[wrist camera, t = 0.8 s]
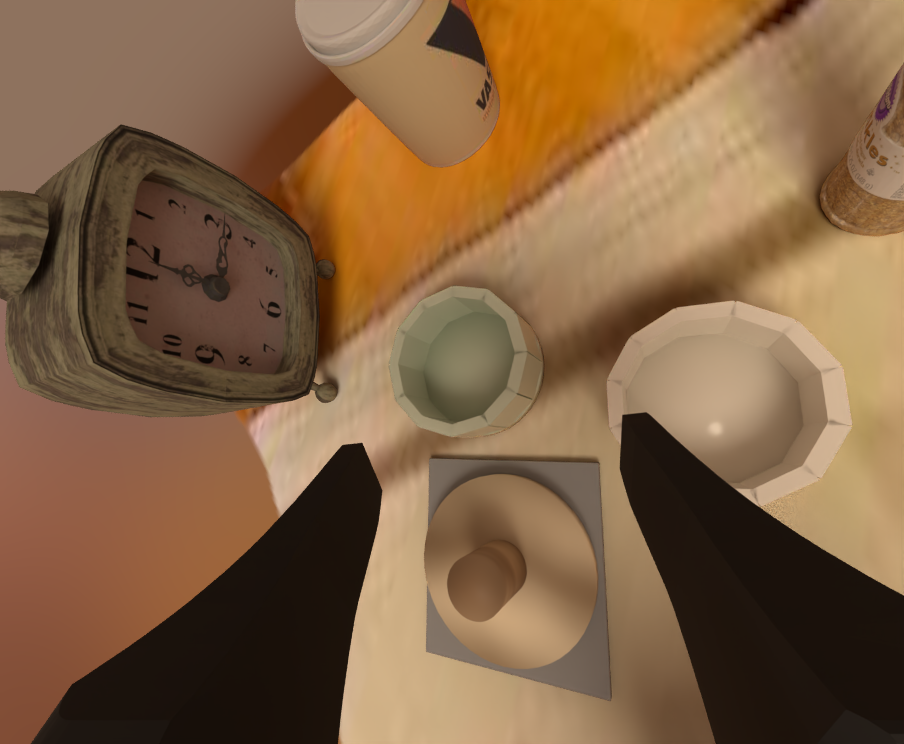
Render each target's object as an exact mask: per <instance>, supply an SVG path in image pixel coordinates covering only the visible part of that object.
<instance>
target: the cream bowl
mask: <svg viewBox="0 0 904 744" xmlns="http://www.w3.org/2000/svg"><path fill="white" fill-rule="evenodd" d="M795 322H796V319H793V318H790V317H787V316H784V315H780V314H777V313H774V312H771V311H768V310H765V309H762V308H758V307H755V306H752V305H749V304H746V303H743V302H740V301H736V303H735V300H734V301H726V302H718V303H709V304H701V305H693V306H685V307H677V308H676V309H675V308H674V309H672V310H671V311H669V312H668V313H666V314H665V315H663V316H662V317H660V318H658V319H657V320H655V321H654V322H652V323H651V324H649V325H647V326H646V327H644V328H643V329H641V330H640V331H638V332H636V333H635V334H633V335H632V336H630V337H631V338H629V339H628V341H627V343H626V344H625V346H624V348H623V350H622V352H621V354H620V356H619V357H618V359H617V361H616V363H615V365H614V367H613V368H612V370H611V372H610V374H609V376H608V378H607V380H608V381H606V383H607V400H608V418H609V428H611V429H610V430H611V432H612V433H613V435H614V436H615V438H616V439H617V441H618V442H619V444H620V445H621V429H622V415H624V414H634V413H643V412H647V413H648V414H650V415H651V416H652V417H653V418H654V419H655V420H656V421H657V422H658V423H659V424H660V425H662V426H663V427H664V428H665V429H666V430H667V431H668V432H669V433H670V434H671V435H672V436H673V437H674V438H676V439H677V440H678V441H679V442H680V443H681V444H682V445H683V446H684V447H685V448H687V449H688V450H689V451H690V452H691V453H692V454H693V455H695V456H696V457H697V458H698V459H699V460H700V461H702V462H703V463H704V464H705V465H706V466H707V467H709V468H710V469H711V470H712V471H713V472H715V473H716V474H717V475H718V476H719V477H721V478H722V479H723V480H724V481H726V482H727V483H728V484H729V485H731V486H732V487H733V488H735V489H736V490H737V491H738V492H740V493H741V494H742V495H744V496H745V497H746V498H748V499H749V500H750V501H752V502H753V503H754V504H756V505H757V506H758V507H759V506H761V507H762V506H764V505H766V504H768V503H770V502H773V501H775V500H777V499H779V498H781V497H784V496H786V495H788V494H790V493H792V492H795V491H797V490H799V489H801V488H803V487H806V486H808V485H810V484H812V483H814V482H817V481H819V479H818V478H822V477H823V475H824V473H825V472H826V470H827V468H828V467H829V465H830V463H831V462H832V460H833V458H834V457H835V455H836V453H837V451H838V450H839V448H840V446H841V445H842V443H843V441H844V440H845V438H846V436H847V435H848V433H849V431H850V430H851V428H852V427H850V426H849V425H852V420H851V414H850V407H849V401H848V395H847V389H846V382H845V376H844V370H843V367H840V366H842V365H841V364H840V363H839V362H838V361H837V360H836V359H835V358H834V356H833V355H832V354H831V353H830V352H829V351H828V350H827V349H826V348H825V347H824V346H823V345H822V344H821V343H820V342H819V341H818V340H817V339H816V338H815V337H814V336H813V335H812V334H811V333H810V332H809V331H808V330H807V329H806V328H805V327H804V326H803V325H802V324H801V323H800V322H799V321H797V322H796V323H795Z"/></svg>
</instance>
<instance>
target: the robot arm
mask: <svg viewBox="0 0 904 744" xmlns="http://www.w3.org/2000/svg"><path fill="white" fill-rule="evenodd" d="M620 472H621V475H622V479H623V482H624V486H625V489H626V492H627V496H628V499H629V502H630V505H631V508H632V510H633V512H634V515H635V517H636V520H637V522H638V524H639V527H640V529H641V531H642V534H643V536H644V538H645V541H646V543H647V545H648V547H649V550H650V552H651V554H652V557H653V559H654V561H655V564H656V566H657V568H658V571H659V573H660V575H661V577H662V580H663V582H664V584H665V587H666V589H667V592H668V594H669V597H670V600H671V602H672V605H673V608H674V611H675V614H676V617H677V620H678V623H679V626H680V629H681V632H682V635H683V638H684V641H685V644H686V647H687V650H688V653H689V657H690V660H691V663H692V666H693V669H694V673H695V676H696V679H697V682H698V685H699V689H700V692H701V695H702V698H703V702H704V705H705V709H706V712H707V715H708V719H709V722H710V725H711V729H712V732H713V736H714V739H715V742H716V744H904V596H903V595H902V594H900V593H898V592H896V591H894V590H892V589H890V588H889V587H887V586H885V585H883V584H881V583H880V582H878V581H876V580H874V579H872V578H871V577H869V576H867V575H865V574H864V573H862V572H860V571H859V570H857V569H855V568H854V567H852V566H850V565H848V564H847V563H845V562H843V561H842V560H840V559H838V558H837V557H835V556H833V555H832V554H830V553H828V552H826V551H825V550H823V549H821V548H820V547H818V546H817V545H815V544H813V543H812V542H810V541H809V540H807V539H805V538H804V537H802V536H801V535H799V534H798V533H796V532H795V531H793V530H792V529H790V528H789V527H787V526H786V525H784V524H783V523H781V522H780V521H778V520H777V519H775V518H774V517H772V516H771V515H770V514H768V513H767V512H765V511H764V510H763V509H761V508H760V507H758V506H757V505H756V504H754V503H753V502H752V501H750V500H749V499H748V498H746V497H745V496H744V495H742V494H741V493H740V492H738V491H737V490H736V489H735V488H733V487H732V486H731V485H729V484H728V483H727V482H726V481H724V480H723V479H722V478H721V477H719V476H718V475H717V474H716V473H715V472H713V471H712V470H711V469H710V468H709V467H707V466H706V465H705V464H704V463H703V462H702V461H700V460H699V459H698V458H697V457H696V456H695V455H693V454H692V453H691V452H690V451H689V450H688V449H687V448H685V447H684V446H683V445H682V444H681V443H680V442H679V441H678V440H677V439H676V438H674V437H673V436H672V435H671V434H670V433H669V432H668V431H667V430H666V429H665V428H664V427H663V426H662V425H660V424H659V423H658V422H657V421H656V420H655V419H654V418H653V417H652V416H651V415H650V414H648V413H647V412H643V413H634V414H624V415H622V429H621V453H620ZM381 498H382V489H381V486H380V484H379V481H378V479H377V477H376V474H375V472H374V470H373V467H372V465H371V462H370V460H369V458H368V455H367V453H366V451H365V448H364V446H363V444H362V443H357V444H348V445H342V446H341V447H340V448H339V450H338V451H337V452H336V453H335V454H334V455H333V457H332V458H331V459H330V460H329V461H328V463H327V464H326V465H325V466H324V467H323V469H322V470H321V471H320V472H319V473H318V475H317V476H316V477H315V478H314V479H313V481H312V482H311V483H310V484H309V485H308V486H307V488H306V489H305V490H304V491H303V492H302V493H301V495H300V496H299V497H298V498H297V499H296V500H295V502H294V503H293V504H292V505H291V506H290V507H289V508H288V509H287V510H286V511H285V512H284V514H283V515H282V516H281V517H280V518H279V519H278V520H277V521H276V522H275V523H274V524H273V525H272V527H271V528H270V529H269V530H268V531H267V532H266V533H265V534H264V535H263V536H262V537H261V538H260V539H259V540H258V541H257V542H256V543H255V544H254V545H253V546H252V547H251V548H250V549H249V550H248V551H247V552H246V553H245V554H244V555H243V556H241V557H240V558H239V559H238V560H237V561H236V562H235V563H234V564H233V565H232V566H231V567H230V568H228V569H227V570H226V571H225V572H224V573H223V574H222V575H220V576H219V577H218V578H217V579H216V580H214V581H213V582H212V583H211V584H210V585H208V586H207V587H206V588H205V589H204V590H203V591H201V592H200V593H199V594H198V595H196V596H195V597H194V598H193V599H192V600H191V601H189V602H188V603H187V604H186V605H184V606H183V607H182V608H180V609H179V610H178V611H177V612H175V613H174V614H173V615H171V616H170V617H169V618H167V619H166V620H165V621H163V622H162V623H161V624H159V625H158V626H157V627H155V628H154V629H153V630H151V631H150V632H149V633H147V634H146V635H144V636H143V637H142V638H140V639H139V640H137V641H136V642H135V643H133V644H132V645H131V646H129V647H128V648H126V649H125V650H123V651H122V652H120V653H119V654H117V655H116V656H114V657H113V658H111V659H110V660H108V661H107V662H105V663H104V664H102V665H101V666H99V667H98V668H97V669H95V670H93V671H92V672H90V673H89V674H87V675H86V676H84V677H83V678H82V679H80V680H78V681H77V682H75V683H74V684H72V685H71V687H70V688H69V689H68V691H67V692H66V694H65V695H64V697H63V698H62V700H61V701H60V703H59V704H58V705H57V707H56V708H55V710H54V711H53V713H52V714H51V715H50V717H49V718H48V720H47V721H46V723H45V724H44V726H43V727H42V728H41V730H40V731H39V733H38V734H37V736H36V737H35V738H34V740H33V741H32V743H31V744H338V737H339V728H340V719H341V710H342V701H343V694H344V686H345V679H346V672H347V665H348V657H349V651H350V645H351V638H352V632H353V626H354V620H355V615H356V610H357V606H358V601H359V597H360V593H361V590H362V586H363V582H364V578H365V574H366V570H367V566H368V563H369V559H370V555H371V551H372V547H373V543H374V539H375V535H376V531H377V527H378V522H379V514H380V507H381Z"/></svg>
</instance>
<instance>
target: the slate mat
mask: <svg viewBox="0 0 904 744" xmlns="http://www.w3.org/2000/svg"><path fill="white" fill-rule="evenodd" d="M493 474H513V475H519V476H523V477H527V478H529V479H532V480H534V481H537V482H539V483H541V484H542V485H544V486H546V487H548V488H549V489H551V490H552V491H553V492H555V493H556V494H557V495H559V496H560V497H561V498H562V499H563V500H564V501H565V502H566V503H567V504H568V505H569V506H570V507H571V509H572V510H573V511H574V512H575V513H576V515H577V516H578V518H579V519H580V521H581V522H582V524H583V526H584V528H585V530H586V532H587V533H588V535H589V538H590V540H591V543H592V546H593V549H594V552H595V557H596V561H597V568H598V594H597V600H596V605H595V608H594V611H593V614H592V617H591V619H590V622H589V624H588V626H587V628H586V630H585V633H584V634H583V635H582V637H581V638H580V640H579V641H578V643H577V644H576V645H575V646H574V647H573V648H572V649H571V650H570V651H569V652H568V653H567V654H565V655H564V656H563V657H561V658H560V659H558V660H556V661H554V662H552V663H550V664H548V665H545V666H541V667H538V668H531V669H514V668H508V667H503V666H500V665H497V664H494V663H491V662H489V661H487V660H485V659H483V658H481V657H480V656H478V655H477V654H475V653H474V652H472V651H470V650H469V649H468V648H467V647H466V646H465V645H463V644H462V643H461V642H460V641H459V640H458V639H457V638H456V637H455V636H454V635H453V633H452V632H451V631H450V630H449V628H448V627H447V626H446V624H445V623H444V621H443V619H442V618H441V616H440V615H439V613H438V611H437V609H436V607H435V604H434V602H433V600H432V597H431V594H430V591H429V588H428V584H427V631H426V652H429V653H433V654H437V655H441V656H444V657H448V658H452V659H455V660H459V661H463V662H467V663H470V664H474V665H478V666H482V667H485V668H489V669H493V670H496V671H500V672H504V673H508V674H511V675H515V676H519V677H523V678H526V679H530V680H534V681H538V682H541V683H545V684H549V685H552V686H556V687H560V688H564V689H567V690H571V691H575V692H579V693H582V694H586V695H590V696H594V697H597V698H601V699H605V700H608V701H611V697H612V695H611V676H610V657H609V638H608V620H607V601H606V582H605V563H604V544H603V526H602V507H601V488H600V469H599V463H586V462H549V461H511V460H473V459H435V458H431V459H429V513H428V529H429V525H430V523H431V520H432V518H433V516H434V514H435V512H436V510H437V509H438V507H439V505H440V504H441V503H442V502H443V500H444V499H445V498H446V497H447V496H448V495H449V494H450V493H451V492H452V491H453V490H454V489H456V488H457V487H459V486H460V485H461V484H463V483H465V482H467V481H469V480H472V479H475V478H478V477H482V476H488V475H493Z"/></svg>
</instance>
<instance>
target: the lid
mask: <svg viewBox="0 0 904 744" xmlns="http://www.w3.org/2000/svg"><path fill="white" fill-rule="evenodd" d="M424 563H425V573H426V580H427V584H428V588H429V591H430V594H431V597H432V600H433V602H434V604H435V607H436V609H437V611H438V613H439V615H440V616H441V618H442V619H443V621H444V623H445V624H446V626H447V627H448V628H449V630H450V631H451V632H452V633H453V635H454V636H455V637H456V638H457V639H458V640H459V641H460V642H461V643H462V644H463V645H465V646H466V647H467V648H468V649H469V650H470V651H472V652H474V653H475V654H477V655H478V656H480V657H481V658H483V659H485V660H487V661H489V662H491V663H494V664H497V665H500V666H503V667H508V668H514V669H531V668H538V667H541V666H545V665H548V664H550V663H552V662H554V661H556V660H558V659H560V658H561V657H563V656H564V655H565V654H567V653H568V652H569V651H570V650H571V649H572V648H573V647H574V646H575V645H576V644H577V643H578V641H579V640H580V638H581V637H582V635H583V634H584V633H585V630H586V628H587V626H588V624H589V622H590V619H591V617H592V614H593V611H594V608H595V605H596V600H597V594H598V568H597V561H596V557H595V552H594V549H593V546H592V543H591V540H590V538H589V535H588V533H587V532H586V530H585V528H584V526H583V524H582V522H581V521H580V519H579V518H578V516H577V515H576V513H575V512H574V511H573V510H572V509H571V507H570V506H569V505H568V504H567V503H566V502H565V501H564V500H563V499H562V498H561V497H560V496H559V495H557V494H556V493H555V492H553V491H552V490H551V489H549V488H548V487H546V486H544V485H542V484H541V483H539V482H537V481H534V480H532V479H529V478H527V477H523V476H519V475H513V474H493V475H488V476H482V477H478V478H475V479H472V480H469V481H467V482H465V483H463V484H461V485H460V486H459V487H457V488H456V489H454V490H453V491H452V492H451V493H450V494H449V495H448V496H447V497H446V498H445V499H444V500H443V502H442V503H441V504H440V505H439V507H438V509H437V510H436V512H435V514H434V516H433V518H432V520H431V523H430V525H429V529H428V532H427V536H426V542H425V552H424Z"/></svg>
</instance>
